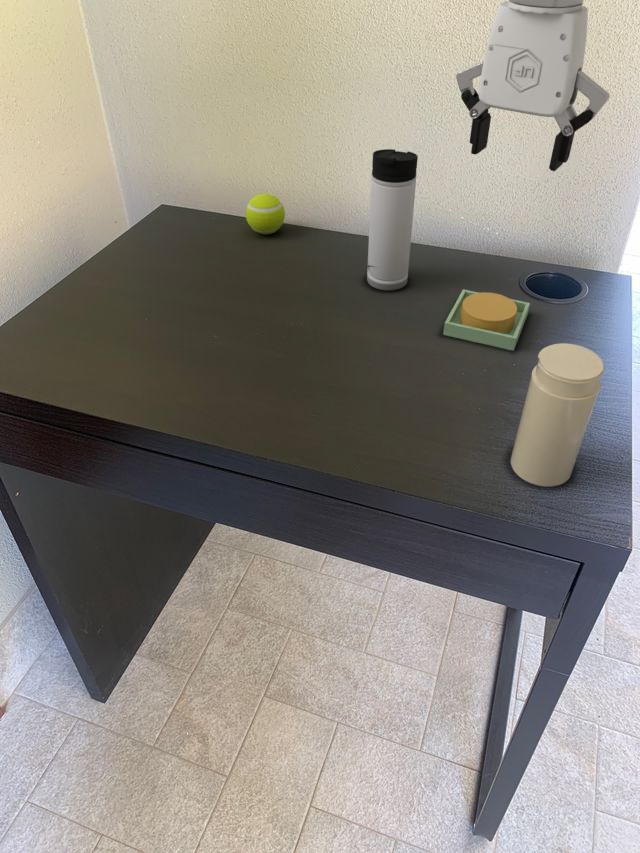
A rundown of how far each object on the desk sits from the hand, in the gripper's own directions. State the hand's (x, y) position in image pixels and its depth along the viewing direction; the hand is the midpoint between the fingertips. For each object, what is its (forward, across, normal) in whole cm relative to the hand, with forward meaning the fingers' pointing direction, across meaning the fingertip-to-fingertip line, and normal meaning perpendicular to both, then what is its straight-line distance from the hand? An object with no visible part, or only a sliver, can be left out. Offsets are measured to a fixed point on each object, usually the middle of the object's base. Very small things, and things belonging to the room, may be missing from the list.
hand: (516, 158), depth 81 cm
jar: (+23, +16, -23) cm, 37 cm away
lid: (+21, 0, 0) cm, 21 cm away
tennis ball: (+24, -44, +6) cm, 50 cm away
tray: (+23, 0, 0) cm, 23 cm away
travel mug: (+24, -18, +3) cm, 30 cm away
